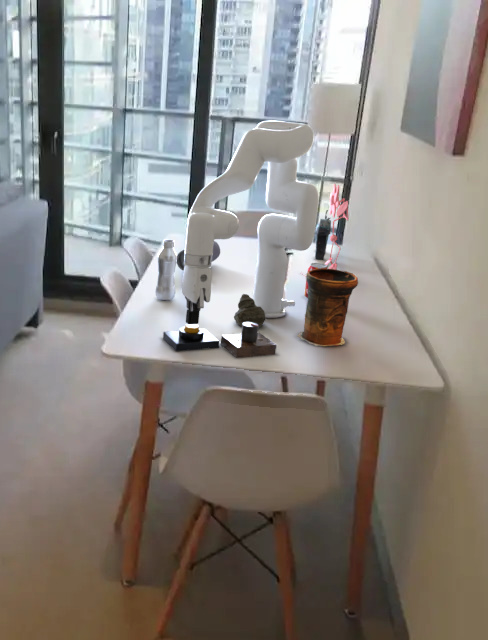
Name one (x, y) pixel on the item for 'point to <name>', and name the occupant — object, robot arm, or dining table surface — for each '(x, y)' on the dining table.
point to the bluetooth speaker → (181, 254)
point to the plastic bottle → (166, 271)
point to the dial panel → (248, 346)
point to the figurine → (333, 208)
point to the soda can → (313, 266)
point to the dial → (249, 332)
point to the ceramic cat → (322, 237)
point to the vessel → (327, 305)
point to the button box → (190, 340)
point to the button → (192, 328)
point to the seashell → (249, 312)
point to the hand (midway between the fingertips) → (191, 323)
